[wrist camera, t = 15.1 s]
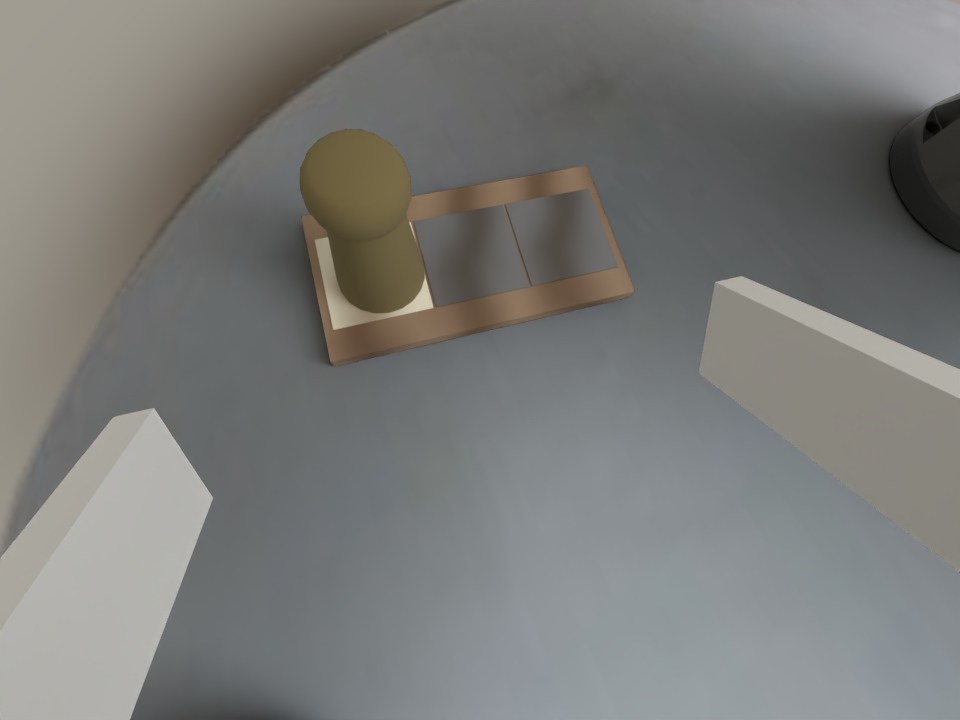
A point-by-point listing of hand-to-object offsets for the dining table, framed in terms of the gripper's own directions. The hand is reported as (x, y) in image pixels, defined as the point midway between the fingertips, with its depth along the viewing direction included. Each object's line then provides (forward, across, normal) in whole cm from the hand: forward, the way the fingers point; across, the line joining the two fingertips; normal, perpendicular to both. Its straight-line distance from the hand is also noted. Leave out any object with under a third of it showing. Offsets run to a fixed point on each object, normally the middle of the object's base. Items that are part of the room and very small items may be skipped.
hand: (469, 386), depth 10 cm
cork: (+21, -2, -4) cm, 22 cm away
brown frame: (+22, +4, -4) cm, 23 cm away
